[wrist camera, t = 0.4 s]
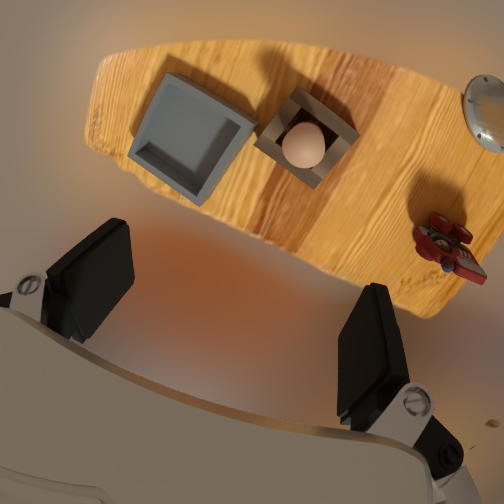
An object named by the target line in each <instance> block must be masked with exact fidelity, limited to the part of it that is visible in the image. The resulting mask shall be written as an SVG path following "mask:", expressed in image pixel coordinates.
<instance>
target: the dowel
mask: <svg viewBox="0 0 504 504" xmlns="http://www.w3.org/2000/svg"><path fill="white" fill-rule="evenodd" d="M282 150H283V154H284V156H285V158H286V159H287V160H288V161H289V162H290V163H291V164H292V165H294V166H296V167H299V168H310V167H313V166H315V165H317V164H318V163H319V162H320V161H321V160H322V158H323V156H324V153H325V143H324V136H323V131H322V129H321V128H320V126H319V125H318V124H316V123H315V122H313V121H301V122H299V123H298V124H297V125H296V126H294V127H293V128H292V129H291V130H290V131H289V132H288V133H287V134H286V136H285V137H284V140H283V143H282Z"/></svg>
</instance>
